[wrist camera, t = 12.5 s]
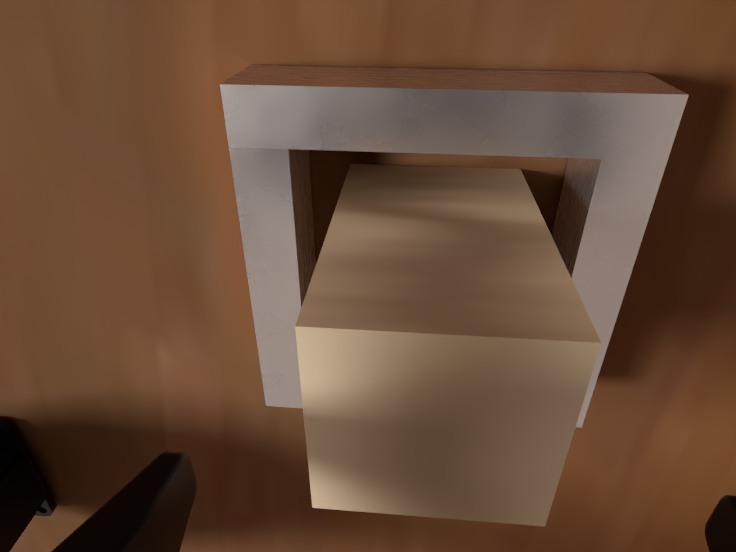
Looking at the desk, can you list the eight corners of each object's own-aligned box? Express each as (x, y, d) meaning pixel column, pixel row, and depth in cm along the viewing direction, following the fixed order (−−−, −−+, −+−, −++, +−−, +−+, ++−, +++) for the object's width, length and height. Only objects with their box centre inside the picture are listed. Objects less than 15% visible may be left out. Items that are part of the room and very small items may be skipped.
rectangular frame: (282, 357, 20) (266, 405, 18) (249, 65, 14) (219, 84, 12) (563, 374, 19) (581, 427, 17) (646, 72, 13) (688, 94, 11)
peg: (353, 300, 18) (312, 507, 11) (350, 163, 15) (294, 325, 9) (497, 308, 18) (544, 526, 11) (520, 169, 15) (601, 343, 8)
